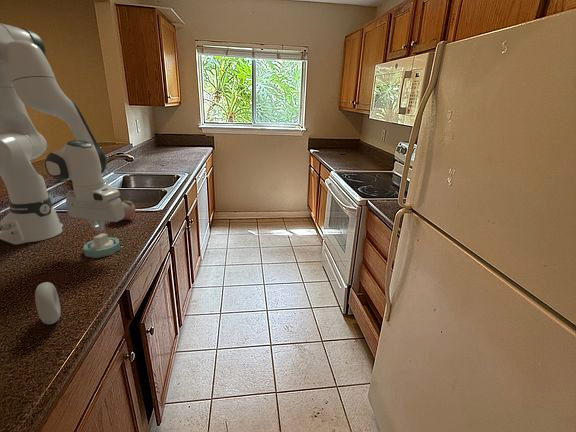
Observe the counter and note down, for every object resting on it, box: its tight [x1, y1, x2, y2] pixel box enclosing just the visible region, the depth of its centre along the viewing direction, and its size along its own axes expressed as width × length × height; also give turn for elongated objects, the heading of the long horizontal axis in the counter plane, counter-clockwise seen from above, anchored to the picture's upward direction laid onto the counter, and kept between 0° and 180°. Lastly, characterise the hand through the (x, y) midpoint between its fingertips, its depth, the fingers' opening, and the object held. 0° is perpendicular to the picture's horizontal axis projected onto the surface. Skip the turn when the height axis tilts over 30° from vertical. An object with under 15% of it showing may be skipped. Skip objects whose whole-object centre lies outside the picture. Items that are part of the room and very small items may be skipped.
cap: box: [90, 232, 114, 250], centre depth 109 cm, size 7×7×4 cm
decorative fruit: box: [120, 197, 136, 221], centre depth 135 cm, size 9×8×10 cm
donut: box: [34, 281, 62, 325], centre depth 74 cm, size 10×4×10 cm, turn 32°
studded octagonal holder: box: [83, 236, 121, 259], centre depth 110 cm, size 11×11×2 cm
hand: (99, 230), depth 108 cm, fingers closed
